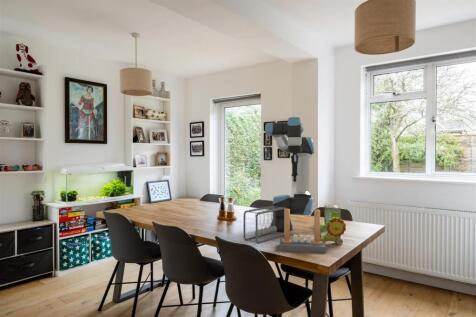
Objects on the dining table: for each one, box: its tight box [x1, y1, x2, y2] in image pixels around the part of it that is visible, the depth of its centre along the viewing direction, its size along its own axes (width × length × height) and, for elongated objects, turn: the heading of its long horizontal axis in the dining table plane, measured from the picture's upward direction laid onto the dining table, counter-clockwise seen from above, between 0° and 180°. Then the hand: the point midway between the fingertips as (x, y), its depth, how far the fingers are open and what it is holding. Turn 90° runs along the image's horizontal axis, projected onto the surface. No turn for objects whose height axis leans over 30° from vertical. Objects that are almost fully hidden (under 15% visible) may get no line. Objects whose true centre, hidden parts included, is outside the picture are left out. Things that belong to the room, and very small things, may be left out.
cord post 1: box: [282, 209, 293, 244], centre depth 175 cm, size 5×5×18 cm
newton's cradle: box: [243, 205, 286, 244], centre depth 197 cm, size 30×10×18 cm, turn 137°
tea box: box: [323, 204, 342, 225], centre depth 227 cm, size 15×10×15 cm
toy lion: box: [320, 217, 347, 246], centre depth 183 cm, size 16×5×15 cm, turn 92°
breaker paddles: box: [293, 234, 312, 243], centre depth 174 cm, size 2×9×4 cm, turn 81°
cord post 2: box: [312, 209, 322, 245], centre depth 173 cm, size 5×5×18 cm
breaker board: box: [278, 238, 327, 254], centre depth 174 cm, size 12×24×3 cm, turn 81°
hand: (294, 187), depth 180 cm, fingers closed
